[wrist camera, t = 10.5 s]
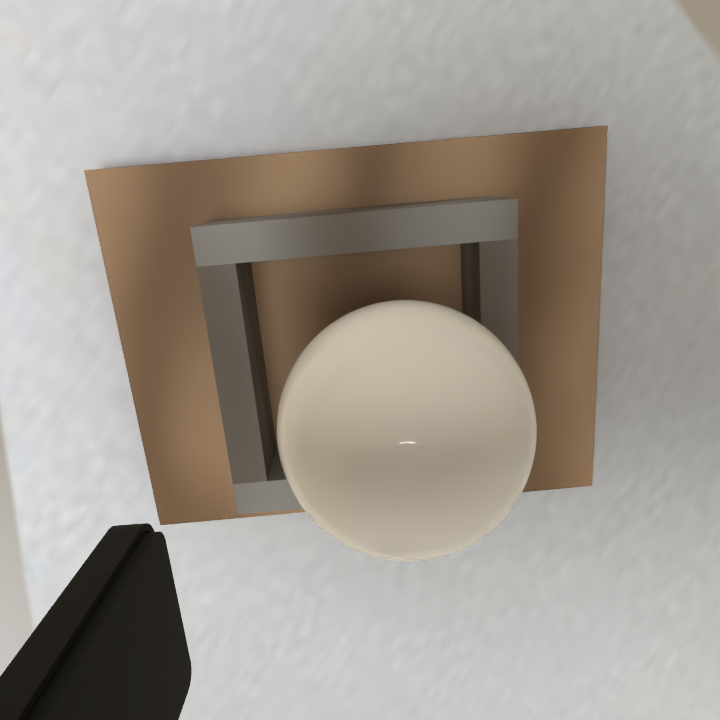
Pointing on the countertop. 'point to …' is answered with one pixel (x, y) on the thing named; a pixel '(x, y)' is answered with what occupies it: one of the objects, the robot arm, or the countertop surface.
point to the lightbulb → (406, 430)
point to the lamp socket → (344, 289)
